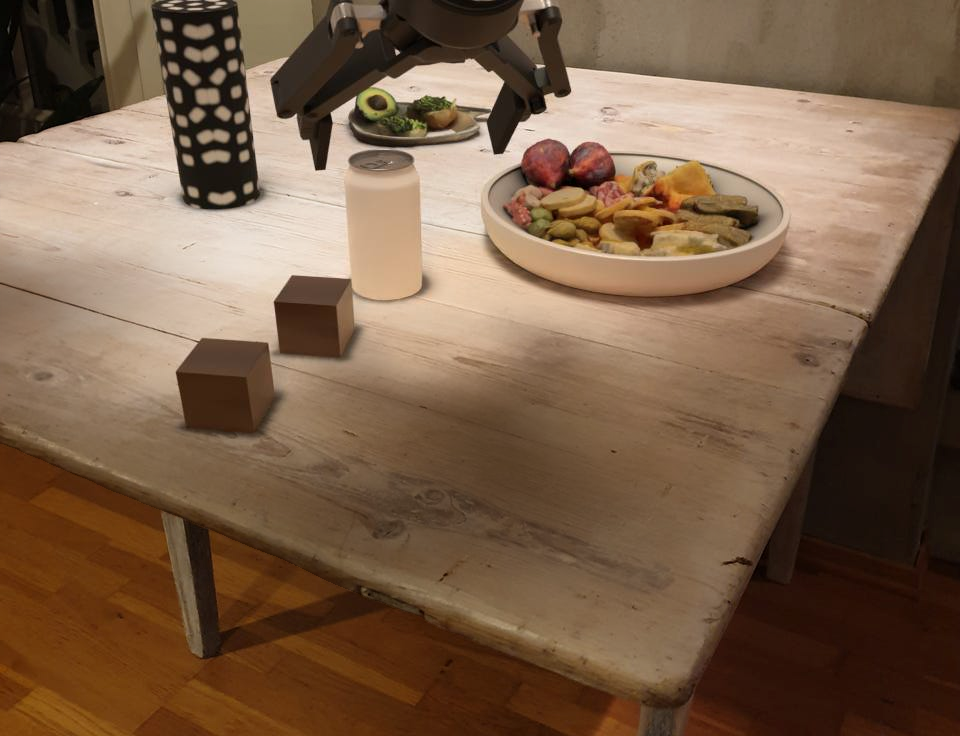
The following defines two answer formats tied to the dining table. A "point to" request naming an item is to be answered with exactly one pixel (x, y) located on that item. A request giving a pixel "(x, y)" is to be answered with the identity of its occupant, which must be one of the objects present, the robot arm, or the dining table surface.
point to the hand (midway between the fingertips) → (407, 145)
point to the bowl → (632, 220)
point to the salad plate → (410, 119)
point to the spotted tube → (207, 101)
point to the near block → (226, 385)
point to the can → (384, 224)
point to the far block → (315, 316)
